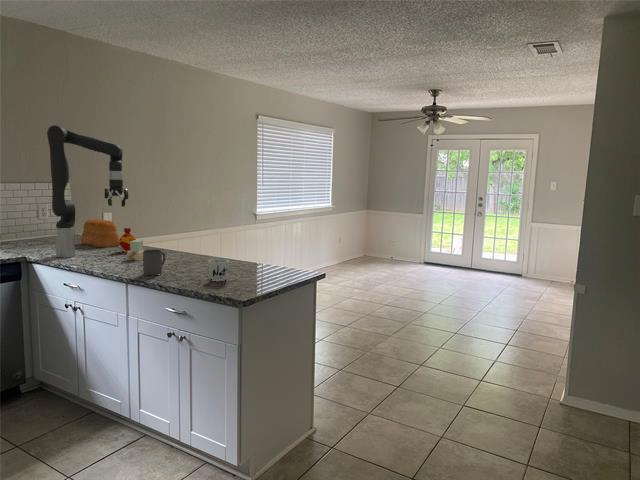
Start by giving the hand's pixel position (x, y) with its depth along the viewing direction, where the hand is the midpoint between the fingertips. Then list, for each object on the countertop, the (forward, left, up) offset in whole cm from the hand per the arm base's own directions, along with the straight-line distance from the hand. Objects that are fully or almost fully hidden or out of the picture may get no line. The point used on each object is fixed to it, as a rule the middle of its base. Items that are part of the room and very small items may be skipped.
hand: (116, 206), depth 292 cm
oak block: (+16, -4, -30) cm, 34 cm away
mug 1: (+45, -35, -30) cm, 65 cm away
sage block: (+15, -4, -25) cm, 30 cm away
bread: (-34, +32, -30) cm, 56 cm away
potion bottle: (-3, +15, -30) cm, 34 cm away
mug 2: (+80, -37, -30) cm, 93 cm away
